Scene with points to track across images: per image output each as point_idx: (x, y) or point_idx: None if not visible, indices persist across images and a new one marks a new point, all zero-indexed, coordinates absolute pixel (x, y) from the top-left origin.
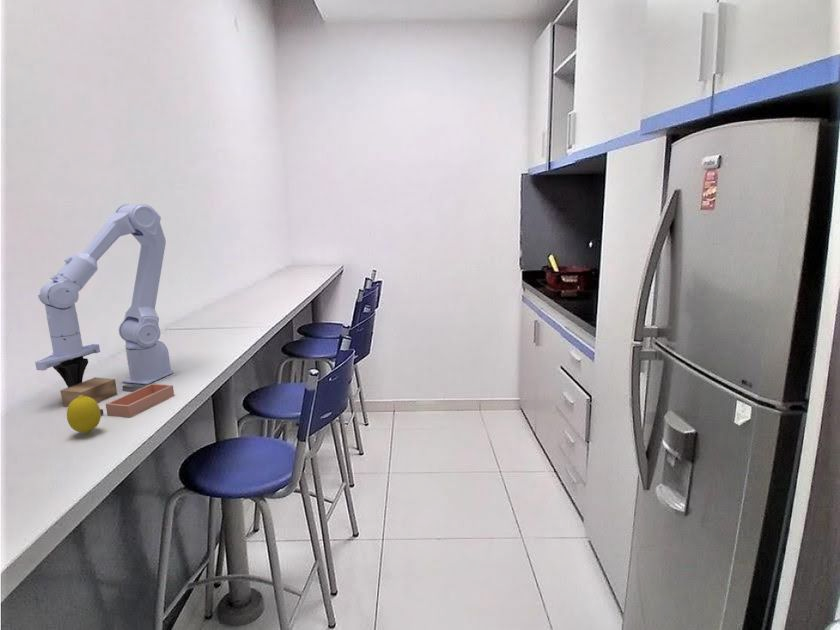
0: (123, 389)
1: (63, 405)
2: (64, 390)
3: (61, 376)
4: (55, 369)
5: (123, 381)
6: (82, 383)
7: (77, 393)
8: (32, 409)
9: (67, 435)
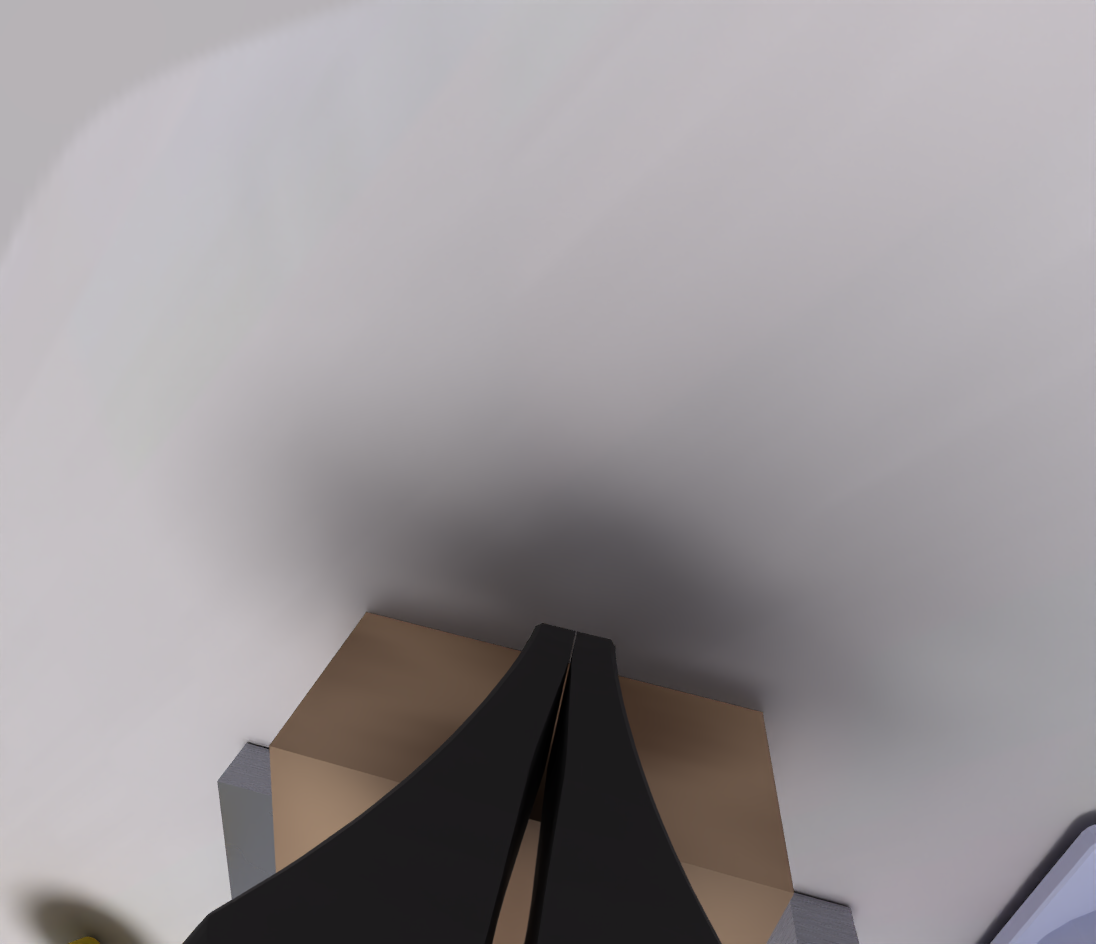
0: (788, 909)
1: (362, 622)
2: (284, 786)
3: (415, 770)
4: (265, 888)
5: (1079, 850)
6: (532, 855)
7: None
8: (231, 356)
9: (41, 873)
